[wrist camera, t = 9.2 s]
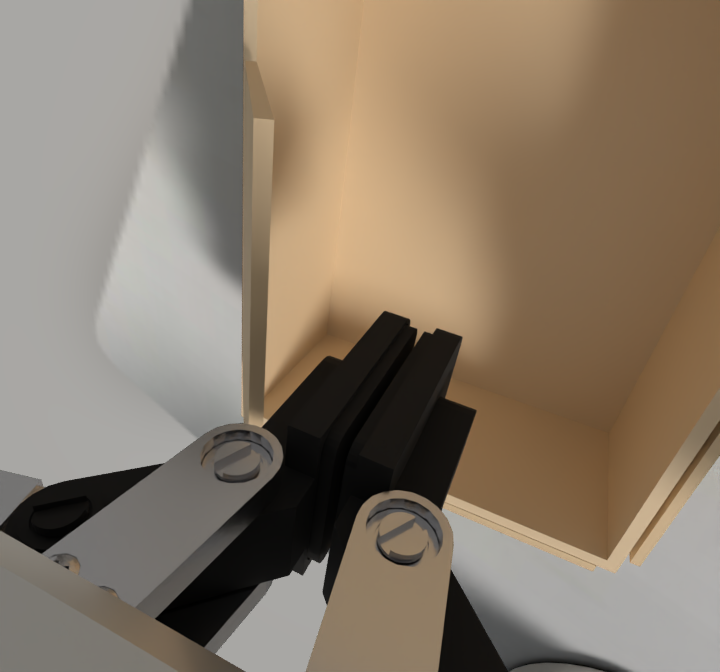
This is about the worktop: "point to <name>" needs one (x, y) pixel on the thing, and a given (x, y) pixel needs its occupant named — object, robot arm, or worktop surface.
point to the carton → (512, 238)
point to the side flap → (256, 239)
